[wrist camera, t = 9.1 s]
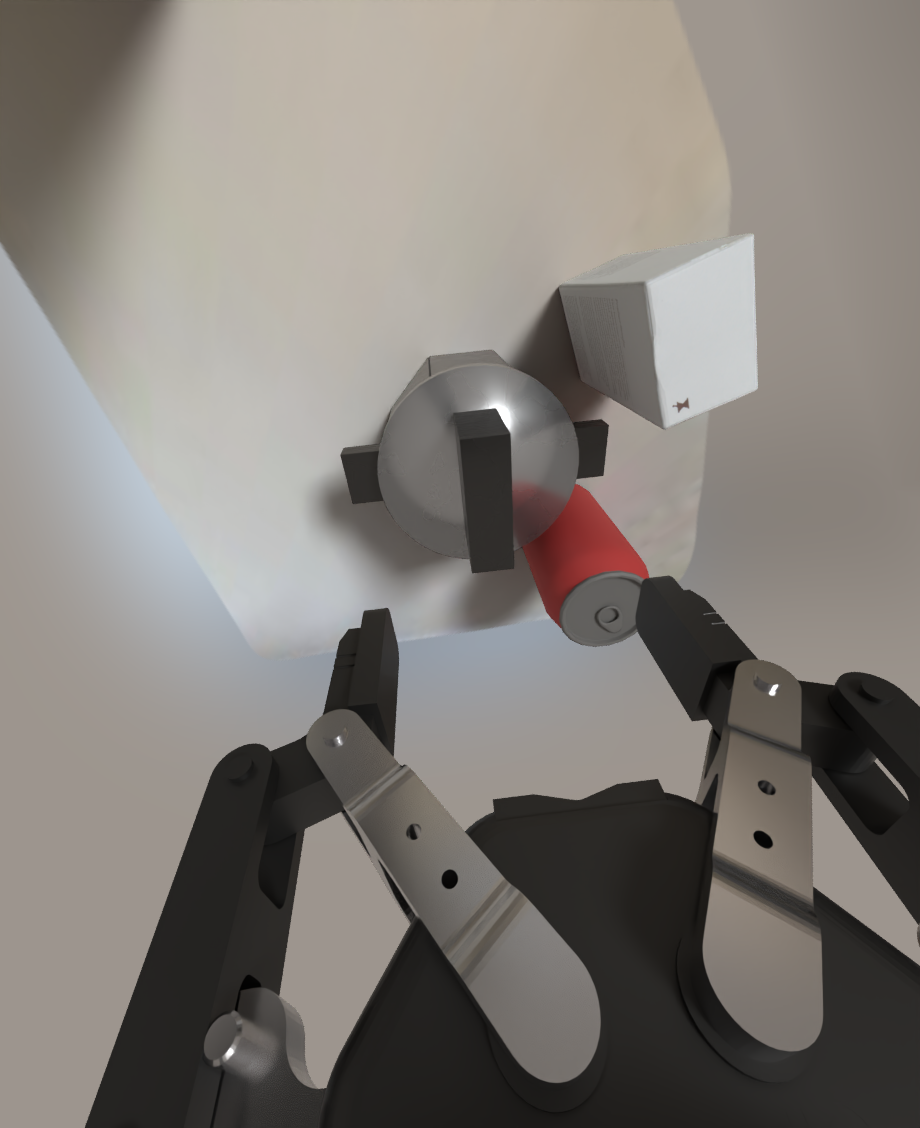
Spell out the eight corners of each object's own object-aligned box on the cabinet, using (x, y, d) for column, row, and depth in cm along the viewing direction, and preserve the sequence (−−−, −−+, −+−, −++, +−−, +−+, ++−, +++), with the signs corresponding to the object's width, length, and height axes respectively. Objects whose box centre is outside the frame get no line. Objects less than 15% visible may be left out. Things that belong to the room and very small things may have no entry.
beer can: (534, 563, 37) (576, 668, 27) (500, 505, 34) (532, 600, 24) (605, 527, 35) (677, 624, 25) (577, 463, 32) (646, 545, 22)
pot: (344, 365, 27) (322, 389, 21) (576, 340, 27) (617, 356, 22) (375, 506, 33) (365, 555, 27) (567, 484, 33) (599, 528, 27)
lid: (358, 375, 21) (342, 400, 17) (581, 350, 21) (621, 368, 17) (397, 561, 27) (392, 614, 23) (569, 541, 28) (596, 590, 23)
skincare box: (641, 354, 28) (761, 394, 18) (579, 381, 29) (661, 435, 19) (625, 248, 25) (760, 228, 15) (555, 282, 26) (640, 284, 16)
